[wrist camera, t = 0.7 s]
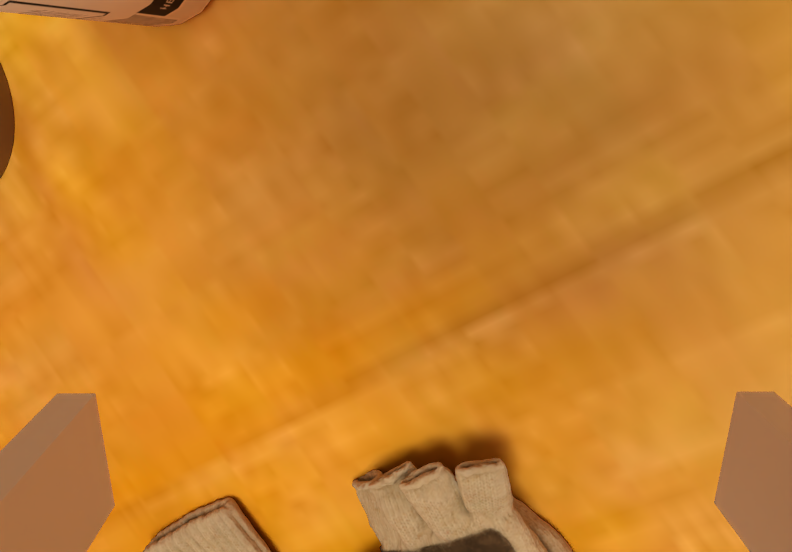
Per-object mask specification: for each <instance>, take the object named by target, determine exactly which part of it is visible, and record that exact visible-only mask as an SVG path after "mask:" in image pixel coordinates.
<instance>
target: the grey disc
mask: <svg viewBox="0 0 792 552" xmlns="http://www.w3.org/2000/svg"><path fill="white" fill-rule="evenodd" d="M13 140H14V111H13V105H12V98H11V94H10V90H9V86H8V83H7V79H6V77H5V74H4V71H3V69H2V66H1V64H0V178H1V176H2V174H3V173H4V171H5V169H6V167H7V164H8V161H9V158H10V155H11V151H12V146H13Z"/></svg>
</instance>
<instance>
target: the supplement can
mask: <svg viewBox="0 0 792 552" xmlns="http://www.w3.org/2000/svg"><path fill="white" fill-rule="evenodd" d="M209 2H210V0H0V12H9V13H19V14H30V15H40V16H51V17H61V18H72V19H82V20H93V21H103V22H114V23H124V24H135V25H145V26H156V27H158V26H168V25H177V24H182V23H183V22H185V21H187V20H189V19H190V18H192V17H194V16H196V15H197V14H199V13H201V12H202V11H203V9H204V8H205V7H206V6H207V4H208V3H209Z"/></svg>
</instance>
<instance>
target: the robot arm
mask: <svg viewBox="0 0 792 552" xmlns="http://www.w3.org/2000/svg"><path fill="white" fill-rule="evenodd" d="M714 503H715V504H716V506H717V507H718V509H719V510H720V511H721V513H722V514H723V515H724V517H725V518H726V519H727V521H728V522H729V524H730V525H731V526H732V528H733V529H734V530H735V532H736V533H737V534H738V536H739V537H740V539H741V540H742V541H743V543H744V544H745V545H746V547H747V548H748V549H749V551H750V552H792V407H791V406H790V405H789V404H787V403H786V402H785V401H784V400H783V399H782V398H780V397H779V396H778V395H777V394H776V393H775V392H737V394H736V399H735V403H734V408H733V413H732V418H731V423H730V428H729V433H728V438H727V443H726V447H725V452H724V457H723V462H722V467H721V472H720V477H719V482H718V486H717V491H716V496H715V501H714ZM114 506H115V505H114V499H113V493H112V487H111V482H110V476H109V470H108V464H107V459H106V453H105V447H104V441H103V435H102V430H101V424H100V418H99V412H98V407H97V401H96V395H95V394H57V395H56V396H55V397H54V398H53V399H52V400H51V401H50V402H49V403H48V404H47V405H46V406H45V407H44V408H43V409H42V410H41V411H40V412H39V413H38V414H37V415H36V416H35V417H34V418H33V419H32V420H31V421H30V422H29V423H28V424H27V425H26V426H25V427H24V428H23V429H22V430H21V431H20V432H19V433H18V434H17V435H16V436H15V437H14V438H13V439H12V440H11V441H10V442H9V443H8V444H7V445H6V446H5V447H4V448H3V449H2V450H1V451H0V552H87V550H88V548H89V547H90V545H91V543H92V542H93V540H94V539H95V537H96V535H97V534H98V532H99V530H100V529H101V527H102V525H103V524H104V522H105V521H106V519H107V517H108V516H109V514H110V512H111V511H112V509H113V507H114Z"/></svg>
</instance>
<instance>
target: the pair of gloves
mask: <svg viewBox="0 0 792 552" xmlns="http://www.w3.org/2000/svg"><path fill="white" fill-rule="evenodd" d="M455 474H456V477H455V476H454V475H453V473H452V472H451V470H450V469H448V468H447V467H445V466H443V464H442V463H440V462H434V463H429V464H427V465H425V466H423V467H421V468H419V469H417V468H416V467H415V466H414V465H413V464H412V462H410V461H406V462H404V463H403V464H401V465H400V466H397V467H395V468H393V469H391V470H390V471H388V472H386V473H384V474H383V473H382V472H381V471H379V470H372V471H371V472H367V473H366V474H365V476H362V477H360V478H359V479H358V480H357V479H356V480H354V481H353V483H352V486H353V487H354V488H355V489H356V491H357V496H358V498H359V500H360V502H361V504H362V506H363V508H364V510H365V512H366V514H367V516H368V520H369V524H370V526H371V527H372V529H373V530H374V532H375V533H376V536H377V537H378V539H379V541H380V542H381V544H382V546H380V549H381V552H572V549H571V547H570V546H569V545H568V543H567V542H566V541H565V540H564V538H563V537H562V536H561V535H560V534H559V533H558V532H557V531H556V530H555V529H554V528H552V527H551V526H550V525H549V524H548V523H547V522H545V521H544V520H542V519H541V518H540V517H539V516H538V515H536V514H535V513H534V512H533V511H532V510H531V509H529V508H528V506H526V505H525V504H524V503H523V502H521V501H519V500H517V499H515V498H514V497H513V495H512V492H511V485H510V482H509V477H508V473H507V468H506V466H505V464H504V462H503V461H502V460H501V459H500V458H492V459H484V460H474V461H466V462H463V463H461V464H459V465H457V466H456V468H455ZM143 552H271V551H270V549H269V547H268V546H267V544H266V543H265V542H264V540H263V539H262V538H261V537H260V535H259V534H258V533H257V531H256V530H255V529H254V528H253V526H252V525H251V523H250V521H249V519H248V518H247V517H246V516H245V515H244V514H243V512H242V511H241V509H240V507H239V506H238V504H237V503H236V502H235V500H234V499H232V498H229V497H227V498H225V499H223V500H216V501H215V502H214V503H212V504H209V505H207V506H205V507H201V508H198V509H196V510H195V511H193V512H190V513H189V514H187V515H186V516H184V517H182V518H181V519H180V520H179V521H176V522H174V523H173V524H171V526H168V527H166V528H165V529H164V530H162V531H160V532H159V533H158V534H157V536H156V537H155V538H153V539H152V540H151V542H150V544H148V545H147V546H146V547H145V550H144V551H143Z"/></svg>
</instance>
